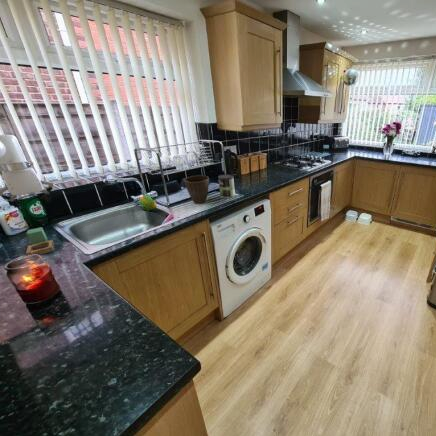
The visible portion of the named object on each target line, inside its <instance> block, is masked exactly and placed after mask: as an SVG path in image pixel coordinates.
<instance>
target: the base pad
mask: <svg viewBox="0 0 436 436" xmlns="http://www.w3.org/2000/svg"><path fill="white" fill-rule="evenodd" d="M54 251H55V242H54V240H53V239H51V240H47V241H46V242H41V243H37V244H33V245H32V244H30V245H27V249H26V252H25V254H26V256H27V255H32V254H39V255H43V254H47V253H51V252H54Z"/></svg>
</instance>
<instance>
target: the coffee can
mask: <svg viewBox="0 0 436 436" xmlns="http://www.w3.org/2000/svg"><path fill="white" fill-rule="evenodd" d="M234 177H235V176H234V175H233V174H230V173H229V174H228V173H227V174H226V173H225V174H220V175H218V176H217V178H218V186H219V187H218V188H219V194H220V195H219V196H220V198H222V199H231V198H234V197H235V196H236V192H235V191H236V190H235V181H234V180H235V179H234Z"/></svg>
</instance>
